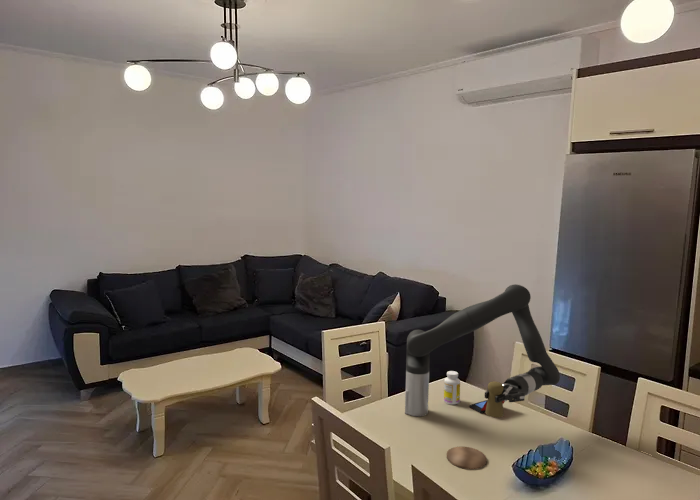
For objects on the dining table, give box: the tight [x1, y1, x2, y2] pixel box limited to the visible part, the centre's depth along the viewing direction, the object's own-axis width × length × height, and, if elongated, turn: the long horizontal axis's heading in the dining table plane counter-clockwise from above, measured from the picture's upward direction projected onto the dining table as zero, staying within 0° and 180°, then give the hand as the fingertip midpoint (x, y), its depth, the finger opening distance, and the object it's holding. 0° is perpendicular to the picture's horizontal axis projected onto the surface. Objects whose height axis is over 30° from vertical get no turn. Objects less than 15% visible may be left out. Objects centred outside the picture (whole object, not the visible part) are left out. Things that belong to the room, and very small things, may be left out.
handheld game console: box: [468, 399, 506, 414], centre depth 204 cm, size 12×11×7 cm
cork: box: [485, 380, 505, 419], centre depth 169 cm, size 6×6×11 cm
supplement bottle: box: [443, 370, 461, 405], centre depth 210 cm, size 7×7×13 cm
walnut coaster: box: [446, 446, 487, 470], centre depth 165 cm, size 13×13×1 cm
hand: (490, 397), depth 167 cm, fingers closed on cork, 3 cm apart
